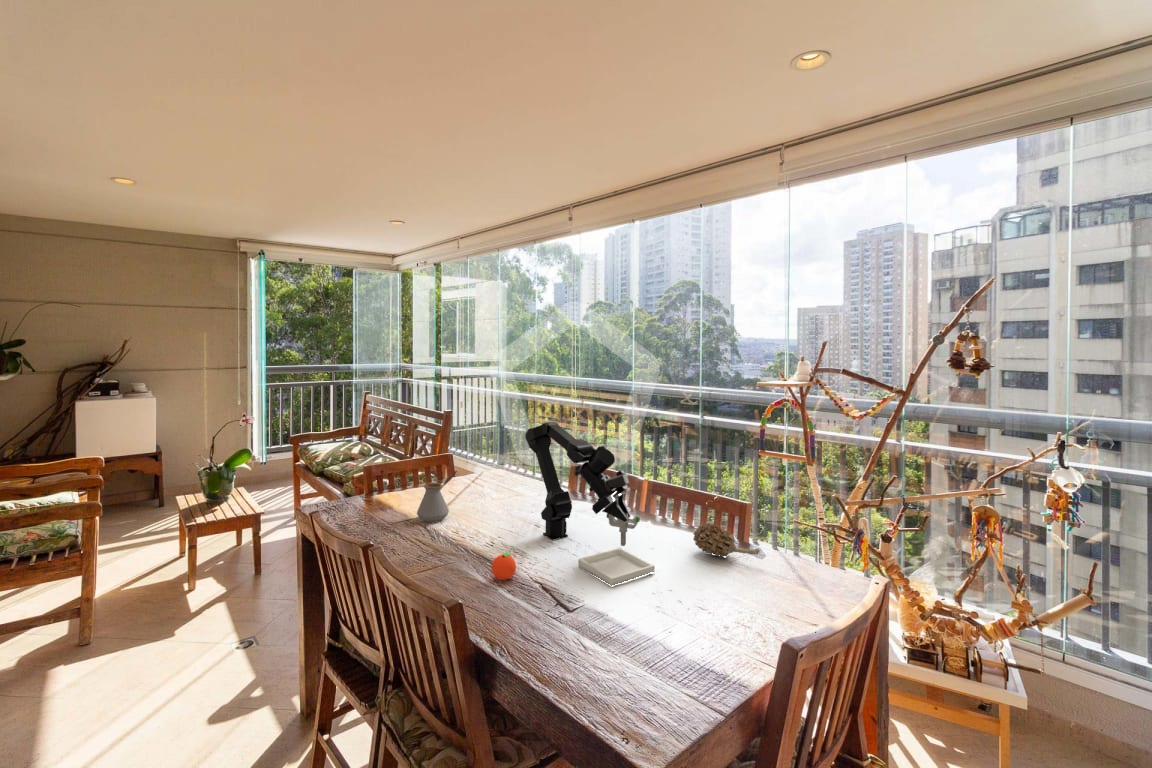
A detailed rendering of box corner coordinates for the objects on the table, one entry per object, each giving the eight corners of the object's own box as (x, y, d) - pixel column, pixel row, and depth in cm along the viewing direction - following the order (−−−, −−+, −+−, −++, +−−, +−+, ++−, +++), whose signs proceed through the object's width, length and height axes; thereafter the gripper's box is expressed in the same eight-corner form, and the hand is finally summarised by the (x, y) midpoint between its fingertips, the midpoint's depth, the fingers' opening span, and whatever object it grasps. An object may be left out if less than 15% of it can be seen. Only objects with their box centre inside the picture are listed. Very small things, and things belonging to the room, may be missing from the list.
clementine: (506, 570, 165) (507, 547, 164) (523, 577, 160) (523, 553, 160) (486, 579, 159) (486, 555, 158) (503, 586, 154) (503, 561, 154)
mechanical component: (637, 549, 172) (637, 518, 170) (606, 544, 175) (605, 514, 174) (640, 545, 174) (640, 514, 173) (609, 540, 178) (608, 510, 177)
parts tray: (611, 587, 155) (611, 578, 155) (578, 566, 168) (578, 558, 168) (654, 573, 164) (654, 565, 164) (619, 555, 177) (619, 547, 177)
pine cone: (687, 555, 179) (688, 524, 178) (698, 545, 186) (700, 516, 186) (757, 572, 166) (758, 540, 165) (766, 562, 174) (767, 531, 173)
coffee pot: (436, 526, 200) (436, 485, 199) (410, 521, 204) (409, 481, 203) (469, 509, 220) (469, 471, 218) (445, 505, 224) (445, 468, 223)
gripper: (604, 470, 165) (638, 513, 162) (622, 457, 182) (654, 495, 179) (578, 493, 168) (611, 534, 165) (599, 477, 186) (629, 515, 183)
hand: (627, 519), depth 173 cm, fingers closed on mechanical component, 3 cm apart
